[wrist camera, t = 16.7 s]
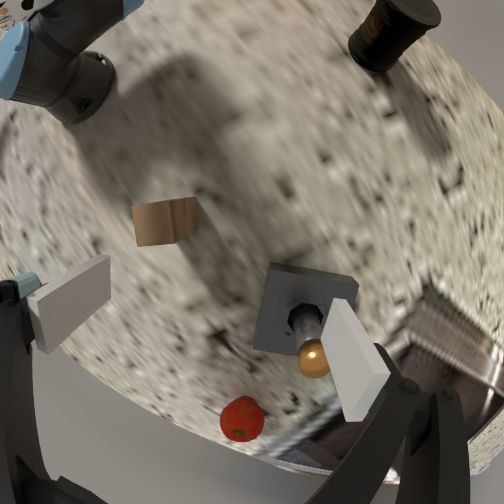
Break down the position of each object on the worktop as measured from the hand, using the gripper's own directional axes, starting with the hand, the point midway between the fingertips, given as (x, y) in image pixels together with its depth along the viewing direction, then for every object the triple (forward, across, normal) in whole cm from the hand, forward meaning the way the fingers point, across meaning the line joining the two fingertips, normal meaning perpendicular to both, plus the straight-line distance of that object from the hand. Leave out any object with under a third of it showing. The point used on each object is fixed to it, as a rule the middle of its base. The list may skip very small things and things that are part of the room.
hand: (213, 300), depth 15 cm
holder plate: (+28, +12, -13) cm, 33 cm away
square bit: (+28, -10, 0) cm, 30 cm away
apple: (+27, +6, -36) cm, 45 cm away
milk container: (+31, -77, +57) cm, 101 cm away
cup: (+29, -47, -21) cm, 59 cm away
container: (+29, +16, +34) cm, 48 cm away
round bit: (+28, +12, -13) cm, 32 cm away
